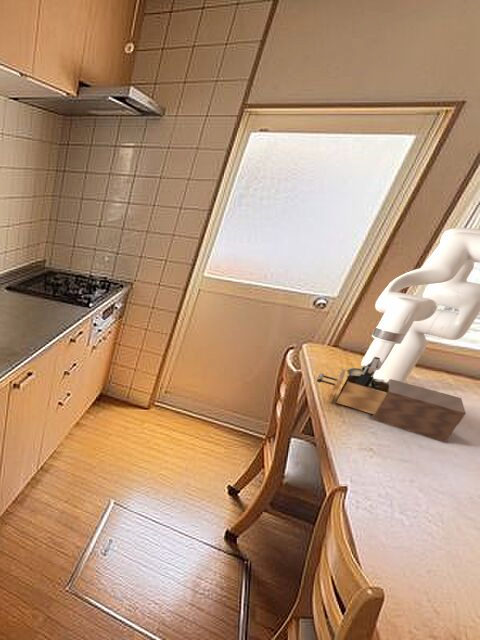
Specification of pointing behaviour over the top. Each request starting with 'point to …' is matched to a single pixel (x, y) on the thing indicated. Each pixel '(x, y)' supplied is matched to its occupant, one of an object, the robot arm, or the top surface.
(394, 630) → the top surface
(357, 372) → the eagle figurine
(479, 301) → the robot arm
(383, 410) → the cabinet
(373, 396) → the drawer
